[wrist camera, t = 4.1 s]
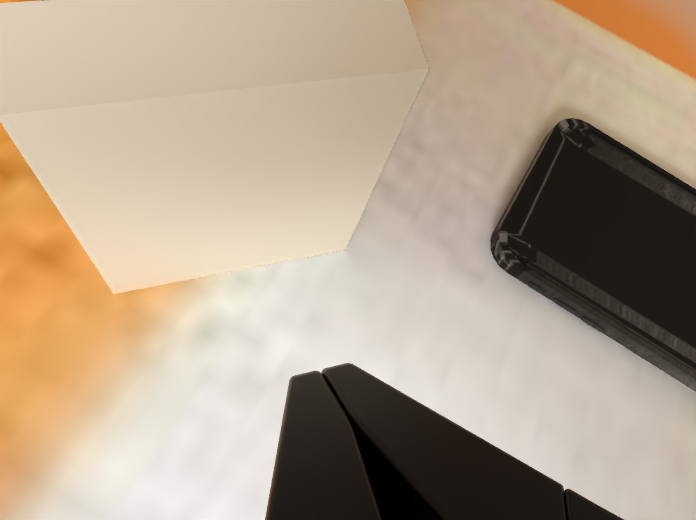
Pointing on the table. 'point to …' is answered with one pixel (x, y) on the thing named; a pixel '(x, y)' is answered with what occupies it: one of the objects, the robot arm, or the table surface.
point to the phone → (608, 243)
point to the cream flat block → (207, 124)
